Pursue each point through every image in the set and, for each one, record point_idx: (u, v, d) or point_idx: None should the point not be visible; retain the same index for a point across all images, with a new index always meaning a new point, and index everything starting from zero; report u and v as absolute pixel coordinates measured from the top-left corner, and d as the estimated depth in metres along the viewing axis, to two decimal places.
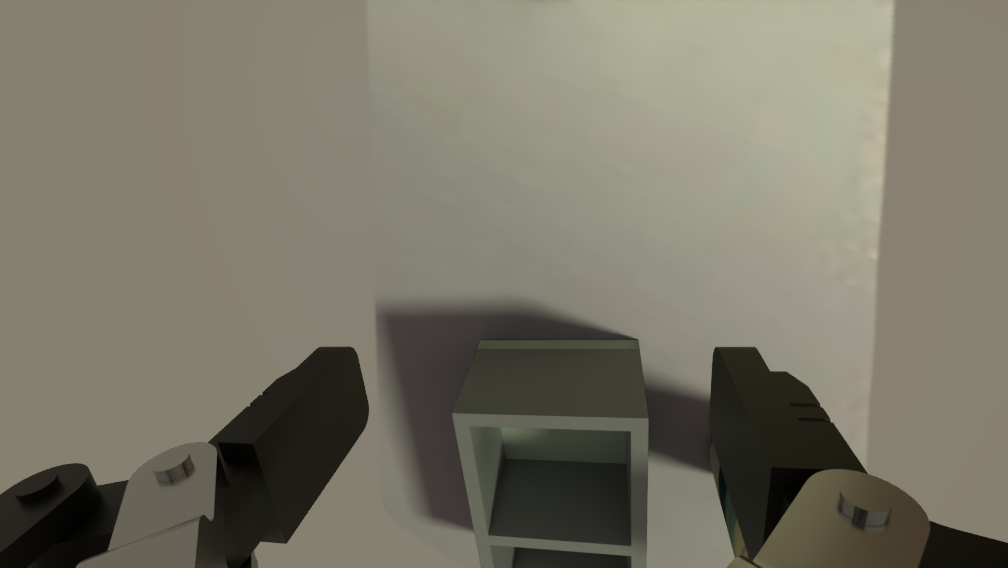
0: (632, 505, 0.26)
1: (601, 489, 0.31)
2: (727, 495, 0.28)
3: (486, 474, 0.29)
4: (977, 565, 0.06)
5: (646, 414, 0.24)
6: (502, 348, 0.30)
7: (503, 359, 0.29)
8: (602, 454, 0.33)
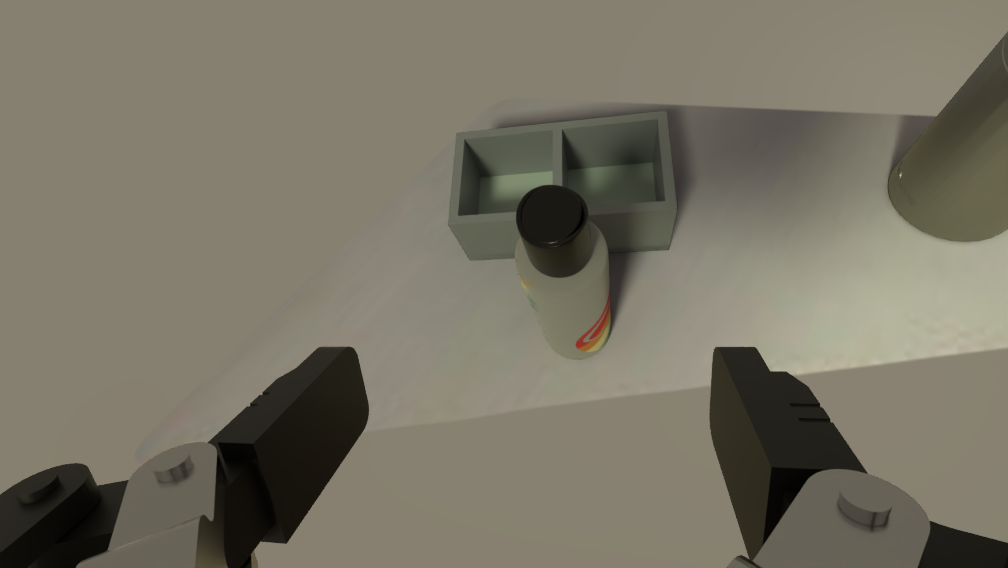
0: (601, 206, 0.40)
1: None
2: None
3: (599, 136, 0.44)
4: (977, 565, 0.06)
5: (676, 210, 0.39)
6: None
7: None
8: None
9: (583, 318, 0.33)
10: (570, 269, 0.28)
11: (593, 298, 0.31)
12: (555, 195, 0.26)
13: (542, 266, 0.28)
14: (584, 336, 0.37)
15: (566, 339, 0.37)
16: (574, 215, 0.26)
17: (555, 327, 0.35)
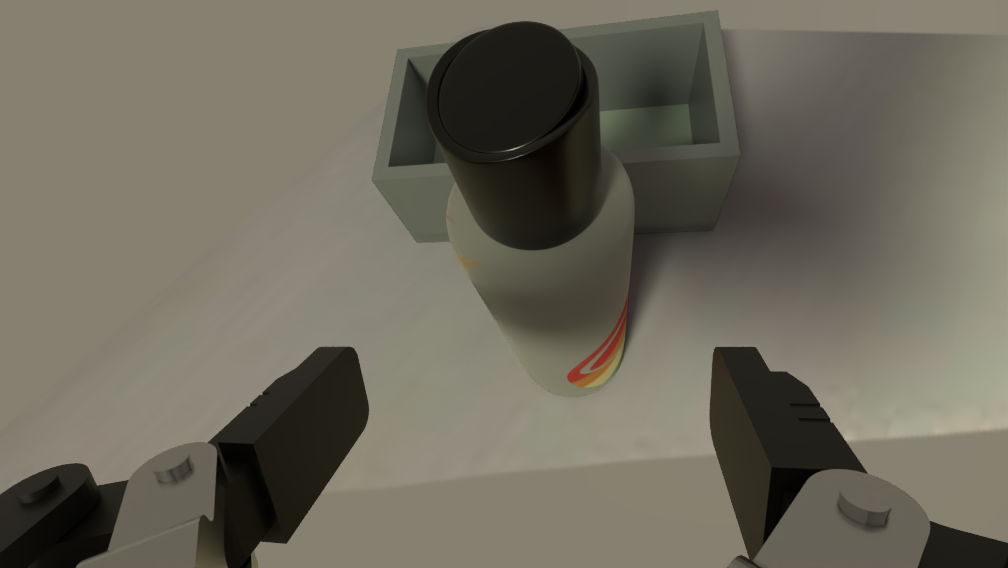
0: (613, 151, 0.25)
1: None
2: None
3: (611, 55, 0.29)
4: (977, 565, 0.06)
5: (739, 157, 0.24)
6: None
7: None
8: None
9: (581, 335, 0.18)
10: (554, 229, 0.13)
11: (602, 297, 0.16)
12: (519, 41, 0.11)
13: (492, 222, 0.13)
14: (582, 365, 0.21)
15: (551, 369, 0.22)
16: (563, 83, 0.10)
17: (530, 349, 0.19)
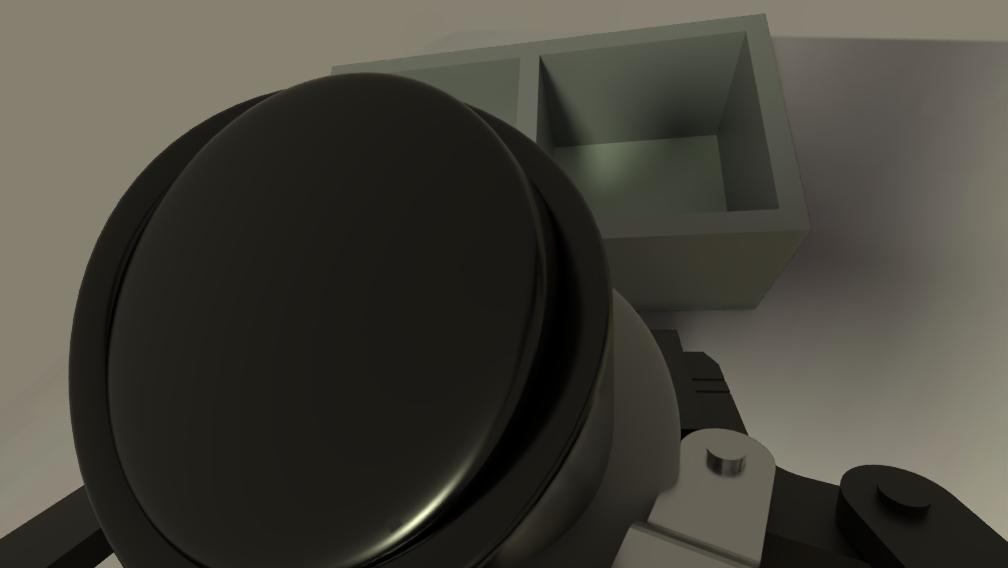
0: (622, 218, 0.17)
1: None
2: None
3: (617, 74, 0.22)
4: (817, 505, 0.07)
5: (808, 231, 0.16)
6: None
7: None
8: None
9: None
10: None
11: None
12: (345, 142, 0.03)
13: None
14: None
15: None
16: (478, 330, 0.03)
17: None
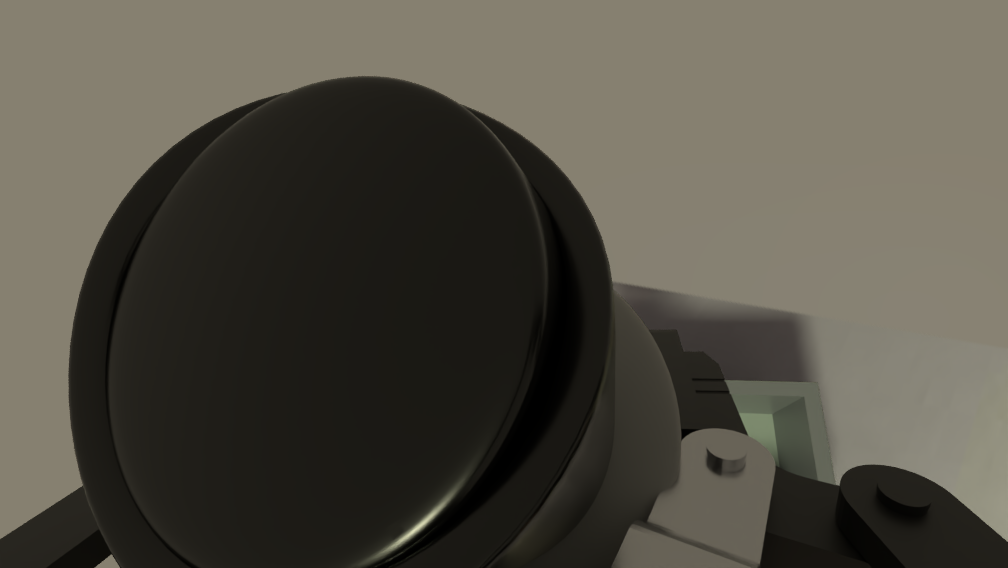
0: None
1: None
2: None
3: None
4: (817, 505, 0.07)
5: None
6: None
7: None
8: None
9: None
10: None
11: None
12: (346, 147, 0.03)
13: None
14: None
15: None
16: (482, 336, 0.03)
17: None
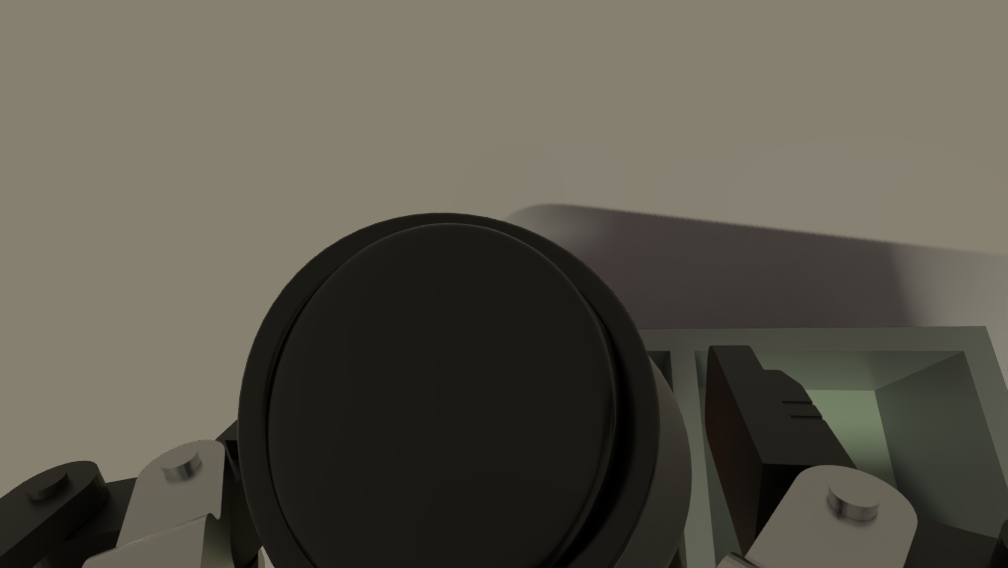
0: None
1: None
2: None
3: (782, 362, 0.18)
4: (964, 559, 0.06)
5: None
6: None
7: None
8: None
9: None
10: None
11: None
12: (460, 284, 0.04)
13: None
14: None
15: None
16: (568, 447, 0.04)
17: None
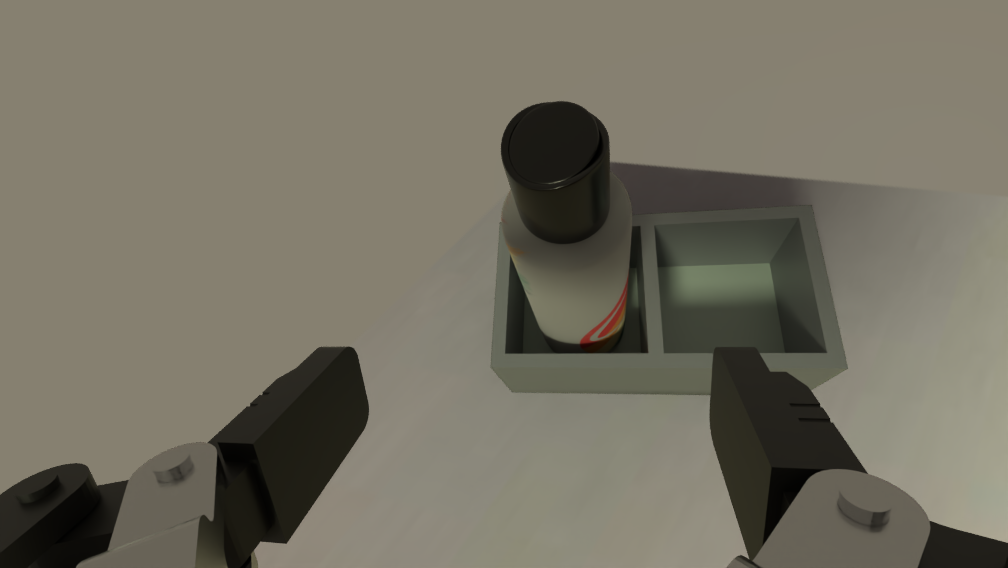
0: None
1: None
2: None
3: (705, 234, 0.31)
4: (977, 565, 0.06)
5: None
6: None
7: None
8: None
9: (592, 307, 0.24)
10: (578, 230, 0.19)
11: (608, 278, 0.22)
12: (560, 114, 0.17)
13: (537, 225, 0.19)
14: (592, 332, 0.28)
15: (568, 335, 0.28)
16: (588, 143, 0.17)
17: (554, 318, 0.26)
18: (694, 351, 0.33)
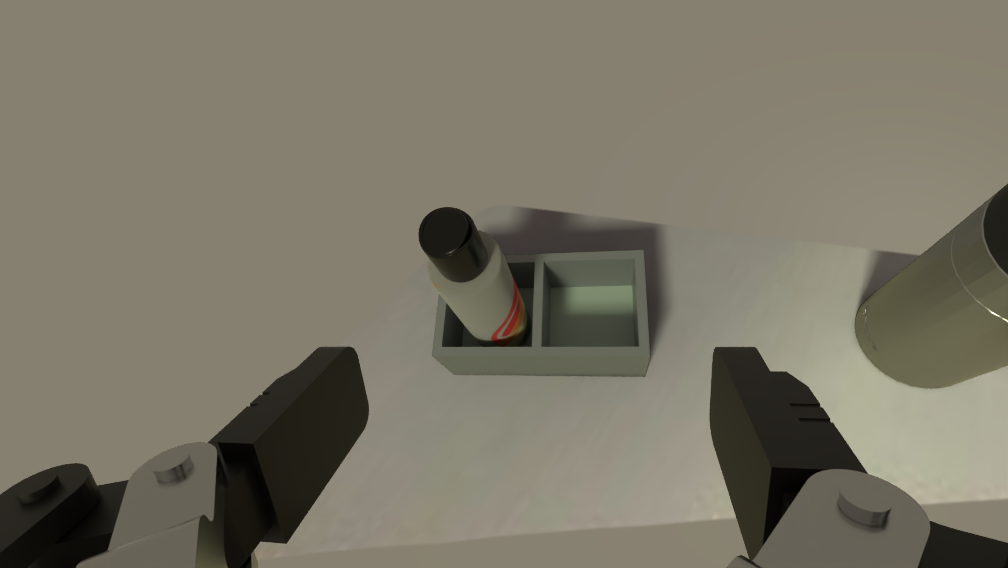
0: (578, 347, 0.42)
1: (546, 342, 0.46)
2: None
3: (579, 267, 0.46)
4: (977, 565, 0.06)
5: (649, 356, 0.41)
6: None
7: None
8: None
9: (488, 317, 0.40)
10: (465, 276, 0.35)
11: (491, 301, 0.37)
12: (449, 216, 0.33)
13: (442, 272, 0.35)
14: (496, 333, 0.43)
15: (482, 335, 0.43)
16: (462, 233, 0.32)
17: (468, 324, 0.41)
18: (576, 346, 0.48)
